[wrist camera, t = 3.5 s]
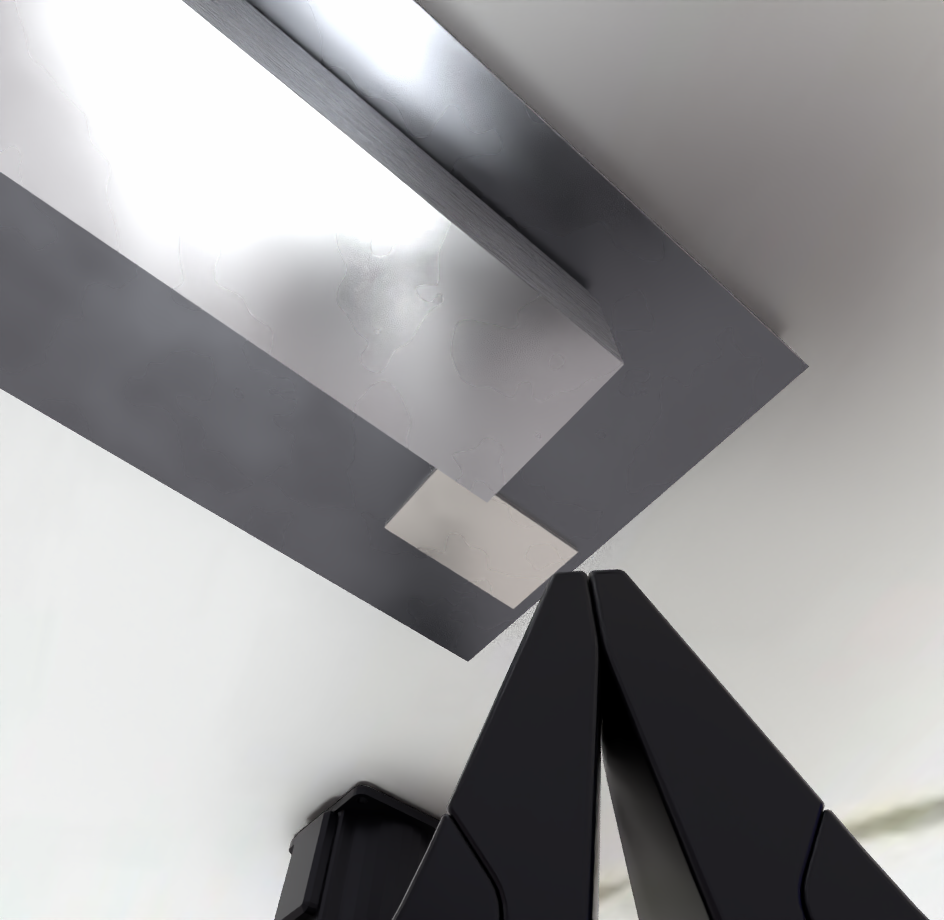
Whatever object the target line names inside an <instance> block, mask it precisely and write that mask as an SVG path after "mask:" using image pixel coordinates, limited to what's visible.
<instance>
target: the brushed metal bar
mask: <svg viewBox="0 0 944 920" xmlns="http://www.w3.org/2000/svg"><path fill="white" fill-rule="evenodd" d="M0 172H1V173H3V174H4V175H6V176H7V177H9V178H10V179H12V180H13V181H15V182H16V183H18V184H19V185H21V186H22V187H23V188H25V189H26V190H28V191H29V192H31V193H32V194H34V195H35V196H37V197H38V198H40V199H41V200H43V201H44V202H46V203H47V204H48V205H50V206H51V207H53V208H54V209H56V210H57V211H59V212H60V213H62V214H63V215H65V216H66V217H68V218H69V219H71V220H72V221H73V222H75V223H76V224H78V225H79V226H81V227H82V228H84V229H85V230H87V231H88V232H90V233H91V234H93V235H94V236H96V237H97V238H98V239H100V240H101V241H103V242H104V243H106V244H107V245H109V246H110V247H112V248H113V249H115V250H116V251H118V252H119V253H121V254H122V255H123V256H125V257H126V258H128V259H129V260H131V261H132V262H134V263H135V264H137V265H138V266H140V267H141V268H143V269H144V270H146V271H147V272H148V273H150V274H151V275H153V276H154V277H156V278H157V279H159V280H160V281H162V282H163V283H165V284H166V285H168V286H169V287H171V288H172V289H173V290H175V291H176V292H178V293H179V294H181V295H182V296H184V297H185V298H187V299H188V300H190V301H191V302H193V303H194V304H196V305H197V306H198V307H200V308H201V309H203V310H204V311H206V312H207V313H209V314H210V315H212V316H213V317H215V318H216V319H218V320H219V321H221V322H222V323H223V324H225V325H226V326H228V327H229V328H231V329H232V330H234V331H235V332H237V333H238V334H240V335H241V336H243V337H244V338H246V339H247V340H248V341H250V342H251V343H253V344H254V345H256V346H257V347H259V348H260V349H262V350H263V351H265V352H266V353H268V354H269V355H271V356H272V357H273V358H275V359H276V360H278V361H279V362H281V363H282V364H284V365H285V366H287V367H288V368H290V369H291V370H293V371H294V372H296V373H297V374H298V375H300V376H301V377H303V378H304V379H306V380H307V381H309V382H310V383H312V384H313V385H315V386H316V387H318V388H319V389H320V390H322V391H323V392H325V393H326V394H328V395H329V396H331V397H332V398H334V399H335V400H337V401H338V402H340V403H341V404H343V405H344V406H345V407H347V408H348V409H350V410H351V411H353V412H354V413H356V414H357V415H359V416H360V417H362V418H363V419H365V420H366V421H368V422H369V423H370V424H372V425H373V426H375V427H376V428H378V429H379V430H381V431H382V432H384V433H385V434H387V435H388V436H390V437H391V438H393V439H394V440H395V441H397V442H398V443H400V444H401V445H403V446H404V447H406V448H407V449H409V450H410V451H412V452H413V453H415V454H416V455H418V456H419V457H420V458H422V459H423V460H425V461H426V462H428V463H429V464H431V465H432V466H434V467H435V468H437V469H438V470H440V471H441V472H443V473H444V474H445V475H447V476H448V477H450V478H451V479H453V480H454V481H456V482H457V483H459V484H460V485H462V486H463V487H465V488H466V489H468V490H469V491H470V492H472V493H473V494H475V495H476V496H478V497H479V498H481V499H482V500H484V501H485V502H488V501H489V500H490V499H491V498H492V497H493V496H494V495H495V494H496V493H497V492H498V491H499V490H500V489H501V488H502V487H503V486H504V485H505V484H506V483H507V482H508V481H509V480H510V479H511V478H512V477H513V476H514V475H515V474H516V473H517V472H518V471H519V470H520V469H521V468H522V467H523V466H524V465H525V464H526V463H527V462H528V461H529V460H530V459H531V458H532V457H533V456H534V455H535V454H536V453H537V452H538V451H539V450H540V449H541V448H542V447H543V446H544V445H545V444H546V443H547V442H548V441H549V440H550V439H551V438H552V437H553V436H554V435H555V434H556V433H557V432H558V431H559V430H560V429H561V428H562V427H563V426H564V425H565V424H566V423H567V422H568V421H569V420H570V419H571V418H572V417H573V416H574V415H575V414H576V413H577V412H578V411H579V410H580V409H581V408H582V407H583V405H584V404H585V403H586V402H587V401H588V400H589V399H590V398H591V397H592V396H593V395H594V394H595V393H596V392H597V391H598V390H599V389H600V388H601V387H602V386H603V385H604V384H605V383H606V382H607V381H608V380H609V379H610V378H611V377H612V376H613V375H614V374H615V373H616V372H617V371H618V370H619V369H620V368H621V367H622V366H623V365H624V363H623V360H622V358H621V355H620V353H619V350H618V348H617V345H616V343H615V340H614V338H613V336H612V333H611V331H610V328H609V326H608V323H607V321H606V318H605V316H604V313H603V311H602V309H601V306H600V304H599V301H598V299H597V298H596V297H595V296H594V295H593V294H591V293H590V292H589V291H588V290H587V289H586V288H584V287H583V286H582V285H581V284H580V283H578V282H577V281H576V280H575V279H574V278H573V277H571V276H570V275H569V274H568V273H567V272H566V271H564V270H563V269H562V268H561V267H560V266H558V265H557V264H556V263H555V262H554V261H553V260H551V259H550V258H549V257H548V256H547V255H545V254H544V253H543V252H542V251H541V250H540V249H538V248H537V247H536V246H535V245H534V244H532V243H531V242H530V241H529V240H528V239H527V238H525V237H524V236H523V235H522V234H521V233H520V232H518V231H517V230H516V229H515V228H514V227H512V226H511V225H510V224H509V223H508V222H507V221H505V220H504V219H503V218H502V217H501V216H499V215H498V214H497V213H496V212H495V211H494V210H492V209H491V208H490V207H489V206H488V205H486V204H485V203H484V202H483V201H482V200H481V199H479V198H478V197H477V196H476V195H475V194H474V193H472V192H471V191H470V190H469V189H468V188H466V187H465V186H464V185H463V184H462V183H461V182H459V181H458V180H457V179H456V178H455V177H453V176H452V175H451V174H450V173H449V172H448V171H446V170H445V169H444V168H443V167H442V166H440V165H439V164H438V163H437V162H436V161H435V160H433V159H432V158H431V157H430V156H429V155H428V154H426V153H425V152H424V151H423V150H422V149H420V148H419V147H418V146H417V145H416V144H415V143H413V142H412V141H411V140H410V139H409V138H407V137H406V136H405V135H404V134H403V133H402V132H400V131H399V130H398V129H397V128H396V127H394V126H393V125H392V124H391V123H390V122H389V121H387V120H386V119H385V118H384V117H383V116H382V115H380V114H379V113H378V112H377V111H376V110H374V109H373V108H372V107H371V106H370V105H369V104H367V103H366V102H365V101H364V100H363V99H361V98H360V97H359V96H358V95H357V94H356V93H354V92H353V91H352V90H351V89H350V88H348V87H347V86H346V85H345V84H344V83H343V82H341V81H340V80H339V79H338V78H337V77H336V76H334V75H333V74H332V73H331V72H330V71H328V70H327V69H326V68H325V67H324V66H323V65H321V64H320V63H319V62H318V61H317V60H315V59H314V58H313V57H312V56H311V55H310V54H308V53H307V52H306V51H305V50H304V49H302V48H301V47H300V46H299V45H298V44H297V43H295V42H294V41H293V40H292V39H291V38H290V37H288V36H287V35H286V34H285V33H284V32H282V31H281V30H280V29H279V28H278V27H277V26H275V25H274V24H273V23H272V22H271V21H269V20H268V19H267V18H266V17H265V16H264V15H262V14H261V13H260V12H259V11H258V10H256V9H255V8H254V7H253V6H252V5H251V4H249V3H248V2H247V1H246V0H0Z"/></svg>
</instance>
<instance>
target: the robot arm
mask: <svg viewBox="0 0 944 920" xmlns="http://www.w3.org/2000/svg"><path fill="white" fill-rule="evenodd" d="M601 749H602V756H603V762H604V767H605V772H606V777H607V782H608V786H609V791H610V795H611V800H612V804H613V808H614V813H615V817H616V822H617V826H618V830H619V835H620V839H621V844H622V848H623V852H624V857H625V861H626V866H627V870H628V874H629V879H630V883H631V888H632V892H633V896H634V901H635V905H636V910H637V914H638V918H639V920H929V919H928V918H927V917H926V916H925V915H924V914H923V913H922V912H921V911H920V910H919V909H918V908H917V907H916V906H915V905H914V903H913V902H912V901H911V900H910V899H909V898H908V897H907V896H906V895H905V893H904V892H903V891H902V890H901V889H900V888H899V887H898V886H897V885H896V884H895V882H894V881H893V880H892V879H891V878H890V877H889V876H888V875H887V874H886V873H885V871H884V870H883V869H882V868H881V867H880V866H879V865H878V864H877V863H876V861H875V860H874V859H873V858H872V857H871V856H870V855H869V854H868V853H867V852H866V850H865V849H864V848H863V847H862V846H861V845H860V844H859V842H858V841H857V840H856V839H855V838H854V836H853V835H852V834H851V833H850V832H849V831H848V829H847V828H846V827H845V826H844V825H843V824H842V822H841V821H840V820H839V819H838V818H837V817H836V815H835V814H834V813H833V812H832V811H831V810H824V803H823V801H822V800H821V799H820V797H819V796H818V795H817V794H816V793H815V792H814V790H813V789H812V788H811V787H810V786H809V785H808V783H807V782H806V781H805V780H804V779H803V778H802V777H801V775H800V774H799V773H798V772H797V771H796V770H795V768H794V767H793V766H792V765H791V764H790V763H789V761H788V760H787V759H786V758H785V757H784V756H783V754H782V753H781V752H780V751H779V750H778V749H777V748H776V746H775V745H774V744H773V743H772V742H771V741H770V739H769V738H768V737H767V736H766V735H765V734H764V732H763V731H762V730H761V729H760V728H759V727H758V726H757V724H756V723H755V722H754V721H753V720H752V719H751V717H750V716H749V715H748V714H747V713H746V712H745V710H744V709H743V708H742V707H741V706H740V705H739V703H738V702H737V701H736V700H735V699H734V698H733V697H732V695H731V694H730V693H729V692H728V691H727V690H726V688H725V687H724V686H723V685H722V684H721V683H720V681H719V680H718V679H717V678H716V677H715V676H714V674H713V673H712V672H711V671H710V670H709V669H708V668H707V666H706V665H705V664H704V663H703V662H702V661H701V659H700V658H699V657H698V656H697V655H696V654H695V652H694V651H693V650H692V649H691V648H690V647H689V646H688V644H687V643H686V642H685V641H684V640H683V639H682V637H681V636H680V635H679V634H678V633H677V632H676V630H675V629H674V628H673V627H672V626H671V625H670V623H669V622H668V621H667V620H666V619H665V618H664V617H663V615H662V614H661V613H660V612H659V611H658V610H657V608H656V607H655V606H654V605H653V604H652V603H651V601H650V600H649V599H648V598H647V597H646V596H645V595H644V593H643V592H642V591H641V590H640V589H639V588H638V586H637V585H636V584H635V583H634V582H633V581H632V579H631V578H630V577H629V576H628V575H627V574H626V573H625V572H624V571H622V570H618V569H617V570H595V571H592V572H590V573H589V575H588V577H587V575H586V573H585V572H583V571H574V572H556V573H554V574H552V576H551V577H550V579H549V581H548V583H547V586H546V588H545V590H544V592H543V594H542V597H541V599H540V601H539V603H538V606H537V608H536V610H535V612H534V614H533V617H532V619H531V621H530V623H529V626H528V628H527V630H526V632H525V634H524V637H523V639H522V641H521V643H520V646H519V648H518V650H517V652H516V654H515V657H514V659H513V661H512V663H511V666H510V668H509V670H508V672H507V674H506V677H505V679H504V681H503V683H502V686H501V688H500V690H499V692H498V694H497V697H496V699H495V701H494V703H493V705H492V708H491V710H490V712H489V714H488V717H487V719H486V721H485V723H484V725H483V728H482V730H481V732H480V734H479V737H478V739H477V741H476V743H475V745H474V748H473V750H472V752H471V754H470V757H469V759H468V761H467V763H466V765H465V768H464V770H463V772H462V774H461V777H460V779H459V781H458V783H457V785H456V788H455V790H454V792H453V794H452V797H451V799H450V801H449V803H448V805H447V809H446V810H447V814H445V815H443V816H442V818H441V820H440V821H438V820H436V819H434V818H432V817H430V816H428V815H426V814H424V813H422V812H420V811H418V810H416V809H414V808H412V807H410V806H408V805H406V804H404V803H401V802H399V801H397V800H395V799H393V798H391V797H389V796H387V795H385V794H383V793H381V792H379V791H377V790H375V789H373V788H371V787H368V786H363V785H361V786H357V787H355V788H354V789H352V790H351V791H350V792H349V793H348V794H346V795H345V796H344V797H343V798H342V799H340V800H339V801H338V802H337V803H336V804H334V805H333V806H332V807H331V808H330V809H328V810H327V811H325V812H323V813H322V814H321V815H320V816H318V817H317V818H316V819H315V820H314V821H312V822H311V823H310V824H309V825H308V826H307V827H305V828H304V829H303V830H302V831H301V832H299V833H298V834H297V836H296V837H295V838H294V839H292V841H291V844H290V848H289V852H290V853H291V854H292V855H291V859H290V863H289V867H288V870H287V874H286V878H285V882H284V885H283V889H282V893H281V897H280V900H279V904H278V908H277V911H276V915H275V919H274V920H598V909H599V853H600V798H601ZM823 810H824V811H823Z"/></svg>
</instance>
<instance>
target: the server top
mask: <svg viewBox="0 0 944 920" xmlns="http://www.w3.org/2000/svg"><path fill="white" fill-rule="evenodd" d="M246 1H247V2H248V3H249V4H251V5H252V6H253V7H254V8H255V9H256V10H258V11H259V12H260V13H261V14H262V15H264V16H265V17H266V18H267V19H268V20H269V21H271V22H272V23H273V24H274V25H275V26H277V27H278V28H279V29H280V30H281V31H282V32H284V33H285V34H286V35H287V36H288V37H290V38H291V39H292V40H293V41H294V42H295V43H297V44H298V45H299V46H300V47H301V48H302V49H304V50H305V51H306V52H307V53H308V54H310V55H311V56H312V57H313V58H314V59H315V60H317V61H318V62H319V63H320V64H321V65H323V66H324V67H325V68H326V69H327V70H328V71H330V72H331V73H332V74H333V75H334V76H336V77H337V78H338V79H339V80H340V81H341V82H343V83H344V84H345V85H346V86H347V87H348V88H350V89H351V90H352V91H353V92H354V93H356V94H357V95H358V96H359V97H360V98H361V99H363V100H364V101H365V102H366V103H367V104H369V105H370V106H371V107H372V108H373V109H374V110H376V111H377V112H378V113H379V114H380V115H382V116H383V117H384V118H385V119H386V120H387V121H389V122H390V123H391V124H392V125H393V126H394V127H396V128H397V129H398V130H399V131H400V132H402V133H403V134H404V135H405V136H406V137H407V138H409V139H410V140H411V141H412V142H413V143H415V144H416V145H417V146H418V147H419V148H420V149H422V150H423V151H424V152H425V153H426V154H428V155H429V156H430V157H431V158H432V159H433V160H435V161H436V162H437V163H438V164H439V165H440V166H442V167H443V168H444V169H445V170H446V171H448V172H449V173H450V174H451V175H452V176H453V177H455V178H456V179H457V180H458V181H459V182H461V183H462V184H463V185H464V186H465V187H466V188H468V189H469V190H470V191H471V192H472V193H474V194H475V195H476V196H477V197H478V198H479V199H481V200H482V201H483V202H484V203H485V204H486V205H488V206H489V207H490V208H491V209H492V210H494V211H495V212H496V213H497V214H498V215H499V216H501V217H502V218H503V219H504V220H505V221H507V222H508V223H509V224H510V225H511V226H512V227H514V228H515V229H516V230H517V231H518V232H520V233H521V234H522V235H523V236H524V237H525V238H527V239H528V240H529V241H530V242H531V243H532V244H534V245H535V246H536V247H537V248H538V249H540V250H541V251H542V252H543V253H544V254H545V255H547V256H548V257H549V258H550V259H551V260H553V261H554V262H555V263H556V264H557V265H558V266H560V267H561V268H562V269H563V270H564V271H566V272H567V273H568V274H569V275H570V276H571V277H573V278H574V279H575V280H576V281H577V282H578V283H580V284H581V285H582V286H583V287H584V288H586V289H587V290H588V291H589V292H590V293H591V294H593V295H594V296H595V297H596V298H597V299H598V301H599V304H600V306H601V309H602V311H603V313H604V316H605V318H606V321H607V323H608V326H609V328H610V331H611V333H612V336H613V338H614V340H615V343H616V345H617V348H618V350H619V353H620V355H621V358H622V360H623V363H624V365H623V366H622V367H621V368H620V369H619V370H618V371H617V372H616V373H615V374H614V375H613V376H612V377H611V378H610V379H609V380H608V381H607V382H606V383H605V384H604V385H603V386H602V387H601V388H600V389H599V390H598V391H597V392H596V393H595V394H594V395H593V396H592V397H591V398H590V399H589V400H588V401H587V402H586V403H585V404H584V405H583V407H582V408H581V409H580V410H579V411H578V412H577V413H576V414H575V415H574V416H573V417H572V418H571V419H570V420H569V421H568V422H567V423H566V424H565V425H564V426H563V427H562V428H561V429H560V430H559V431H558V432H557V433H556V434H555V435H554V436H553V437H552V438H551V439H550V440H549V441H548V442H547V443H546V444H545V445H544V446H543V447H542V448H541V449H540V450H539V451H538V452H537V453H536V454H535V455H534V456H533V457H532V458H531V459H530V460H529V461H528V462H527V463H526V464H525V465H524V466H523V467H522V468H521V469H520V470H519V471H518V472H517V473H516V474H515V475H514V476H513V477H512V478H511V479H510V480H509V481H508V482H507V483H506V484H505V485H504V486H503V487H502V488H501V489H500V490H499V491H498V492H497V493H496V494H495V495H494V496H493V497H492V498H491V499H490V500H489V501H488V502H485V501H484V500H482V499H481V498H479V497H478V496H476V495H475V494H473V493H472V492H470V491H469V490H468V489H466V488H465V487H463V486H462V485H460V484H459V483H457V482H456V481H454V480H453V479H451V478H450V477H448V476H447V475H445V474H444V473H443V472H441V471H440V470H438V469H437V468H435V467H434V466H432V465H431V464H429V463H428V462H426V461H425V460H423V459H422V458H420V457H419V456H418V455H416V454H415V453H413V452H412V451H410V450H409V449H407V448H406V447H404V446H403V445H401V444H400V443H398V442H397V441H395V440H394V439H393V438H391V437H390V436H388V435H387V434H385V433H384V432H382V431H381V430H379V429H378V428H376V427H375V426H373V425H372V424H370V423H369V422H368V421H366V420H365V419H363V418H362V417H360V416H359V415H357V414H356V413H354V412H353V411H351V410H350V409H348V408H347V407H345V406H344V405H343V404H341V403H340V402H338V401H337V400H335V399H334V398H332V397H331V396H329V395H328V394H326V393H325V392H323V391H322V390H320V389H319V388H318V387H316V386H315V385H313V384H312V383H310V382H309V381H307V380H306V379H304V378H303V377H301V376H300V375H298V374H297V373H296V372H294V371H293V370H291V369H290V368H288V367H287V366H285V365H284V364H282V363H281V362H279V361H278V360H276V359H275V358H273V357H272V356H271V355H269V354H268V353H266V352H265V351H263V350H262V349H260V348H259V347H257V346H256V345H254V344H253V343H251V342H250V341H248V340H247V339H246V338H244V337H243V336H241V335H240V334H238V333H237V332H235V331H234V330H232V329H231V328H229V327H228V326H226V325H225V324H223V323H222V322H221V321H219V320H218V319H216V318H215V317H213V316H212V315H210V314H209V313H207V312H206V311H204V310H203V309H201V308H200V307H198V306H197V305H196V304H194V303H193V302H191V301H190V300H188V299H187V298H185V297H184V296H182V295H181V294H179V293H178V292H176V291H175V290H173V289H172V288H171V287H169V286H168V285H166V284H165V283H163V282H162V281H160V280H159V279H157V278H156V277H154V276H153V275H151V274H150V273H148V272H147V271H146V270H144V269H143V268H141V267H140V266H138V265H137V264H135V263H134V262H132V261H131V260H129V259H128V258H126V257H125V256H123V255H122V254H121V253H119V252H118V251H116V250H115V249H113V248H112V247H110V246H109V245H107V244H106V243H104V242H103V241H101V240H100V239H98V238H97V237H96V236H94V235H93V234H91V233H90V232H88V231H87V230H85V229H84V228H82V227H81V226H79V225H78V224H76V223H75V222H73V221H72V220H71V219H69V218H68V217H66V216H65V215H63V214H62V213H60V212H59V211H57V210H56V209H54V208H53V207H51V206H50V205H48V204H47V203H46V202H44V201H43V200H41V199H40V198H38V197H37V196H35V195H34V194H32V193H31V192H29V191H28V190H26V189H25V188H23V187H22V186H21V185H19V184H18V183H16V182H15V181H13V180H12V179H10V178H9V177H7V176H6V175H4V174H3V173H1V172H0V388H1V389H2V390H4V391H6V392H7V393H9V394H11V395H13V396H14V397H16V398H18V399H19V400H21V401H23V402H25V403H26V404H28V405H30V406H31V407H33V408H35V409H37V410H38V411H40V412H42V413H43V414H45V415H47V416H49V417H50V418H52V419H54V420H55V421H57V422H59V423H61V424H62V425H64V426H66V427H67V428H69V429H71V430H73V431H74V432H76V433H78V434H79V435H81V436H83V437H84V438H86V439H88V440H90V441H91V442H93V443H95V444H96V445H98V446H100V447H102V448H103V449H105V450H107V451H108V452H110V453H112V454H114V455H115V456H117V457H119V458H120V459H122V460H124V461H126V462H127V463H129V464H131V465H132V466H134V467H136V468H138V469H139V470H141V471H143V472H144V473H146V474H148V475H150V476H151V477H153V478H155V479H156V480H158V481H160V482H161V483H163V484H165V485H167V486H168V487H170V488H172V489H173V490H175V491H177V492H179V493H180V494H182V495H184V496H185V497H187V498H189V499H191V500H192V501H194V502H196V503H197V504H199V505H201V506H203V507H204V508H206V509H208V510H209V511H211V512H213V513H215V514H216V515H218V516H220V517H221V518H223V519H225V520H227V521H228V522H230V523H232V524H233V525H235V526H237V527H238V528H240V529H242V530H244V531H245V532H247V533H249V534H250V535H252V536H254V537H256V538H257V539H259V540H261V541H262V542H264V543H266V544H268V545H269V546H271V547H273V548H274V549H276V550H278V551H280V552H281V553H283V554H285V555H286V556H288V557H290V558H292V559H293V560H295V561H297V562H298V563H300V564H302V565H304V566H305V567H307V568H309V569H310V570H312V571H314V572H315V573H317V574H319V575H321V576H322V577H324V578H326V579H327V580H329V581H331V582H333V583H334V584H336V585H338V586H339V587H341V588H343V589H345V590H346V591H348V592H350V593H351V594H353V595H355V596H357V597H358V598H360V599H362V600H363V601H365V602H367V603H369V604H370V605H372V606H374V607H375V608H377V609H379V610H381V611H382V612H384V613H386V614H387V615H389V616H391V617H392V618H394V619H396V620H398V621H399V622H401V623H403V624H404V625H406V626H408V627H410V628H411V629H413V630H415V631H416V632H418V633H420V634H422V635H423V636H425V637H427V638H428V639H430V640H432V641H434V642H435V643H437V644H439V645H440V646H442V647H444V648H446V649H447V650H449V651H451V652H452V653H454V654H456V655H458V656H459V657H461V658H463V659H464V660H466V661H469V660H470V659H472V658H473V657H474V656H475V655H476V654H477V653H479V652H480V651H481V650H482V649H483V648H484V647H485V646H487V645H488V644H489V643H490V642H491V641H492V640H494V639H495V638H496V637H497V636H498V635H499V634H500V633H502V632H503V631H504V630H505V629H506V628H507V627H509V626H510V625H511V624H512V623H513V622H514V621H516V620H517V619H518V618H519V617H520V616H521V615H522V614H524V613H525V612H526V611H527V610H528V609H529V608H531V607H532V606H533V605H534V604H535V603H536V602H537V601H539V600H540V599H541V597H542V594H543V592H544V590H545V588H546V586H547V583H548V581H549V579H550V577H551V576H552V574H554V573H556V572H572V571H573V570H574V569H576V568H577V567H578V566H579V565H580V564H581V563H582V562H584V561H585V560H586V559H587V558H588V557H589V556H591V555H592V554H593V553H594V552H595V551H596V550H598V549H599V548H600V547H601V546H602V545H603V544H604V543H606V542H607V541H608V540H609V539H610V538H611V537H613V536H614V535H615V534H616V533H617V532H618V531H619V530H621V529H622V528H623V527H624V526H625V525H626V524H628V523H629V522H630V521H631V520H632V519H633V518H634V517H636V516H637V515H638V514H639V513H640V512H641V511H643V510H644V509H645V508H646V507H647V506H648V505H649V504H651V503H652V502H653V501H654V500H655V499H656V498H658V497H659V496H660V495H661V494H662V493H663V492H665V491H666V490H667V489H668V488H669V487H670V486H671V485H673V484H674V483H675V482H676V481H677V480H678V479H680V478H681V477H682V476H683V475H684V474H685V473H686V472H688V471H689V470H690V469H691V468H692V467H693V466H695V465H696V464H697V463H698V462H699V461H700V460H701V459H703V458H704V457H705V456H706V455H707V454H708V453H710V452H711V451H712V450H713V449H714V448H715V447H716V446H718V445H719V444H720V443H721V442H722V441H723V440H725V439H726V438H727V437H728V436H729V435H730V434H732V433H733V432H734V431H735V430H736V429H737V428H738V427H740V426H741V425H742V424H743V423H744V422H745V421H747V420H748V419H749V418H750V417H751V416H752V415H753V414H755V413H756V412H757V411H758V410H759V409H760V408H762V407H763V406H764V405H765V404H766V403H767V402H768V401H770V400H771V399H772V398H773V397H774V396H775V395H777V394H778V393H779V392H780V391H781V390H782V389H783V388H785V387H786V386H787V385H788V384H789V383H790V382H792V381H793V380H794V379H795V378H796V377H797V376H799V375H800V374H801V373H802V372H803V371H804V370H805V369H807V368H808V367H809V366H808V365H807V364H806V363H805V362H804V361H803V360H802V359H801V358H800V357H799V356H798V355H797V354H796V353H794V352H793V351H792V350H791V349H790V348H789V347H788V346H787V345H786V344H785V343H784V342H783V341H782V340H781V339H780V338H779V337H778V336H777V335H776V334H775V333H774V332H773V331H772V330H770V329H769V328H768V327H767V326H766V325H765V324H764V323H763V322H762V321H761V320H760V319H759V318H758V317H756V316H755V315H754V314H753V313H752V312H751V311H750V310H749V309H748V308H747V307H746V306H745V305H743V304H742V303H741V302H740V301H739V300H738V299H737V298H736V297H735V296H734V295H733V294H732V293H731V292H729V291H728V290H727V289H726V288H725V287H724V286H723V285H722V284H721V283H720V282H719V281H718V280H716V279H715V278H714V277H713V276H712V275H711V274H710V273H709V272H708V271H707V270H706V269H705V268H703V267H702V266H701V265H700V264H699V263H698V262H697V261H696V260H695V259H694V258H693V257H692V256H691V255H689V254H688V253H687V252H686V251H685V250H684V249H683V248H682V247H681V246H680V245H679V244H678V243H676V242H675V241H674V240H673V239H672V238H671V237H670V236H669V235H668V234H667V233H666V232H665V231H664V230H662V229H661V228H660V227H659V226H658V225H657V224H656V223H655V222H654V221H653V220H652V219H651V218H649V217H648V216H647V215H646V214H645V213H644V212H643V211H642V210H641V209H640V208H639V207H638V206H636V205H635V204H634V203H633V202H632V201H631V200H630V199H629V198H628V197H627V196H626V195H625V194H624V193H622V192H621V191H620V190H619V189H618V188H617V187H616V186H615V185H614V184H613V183H612V182H611V181H609V180H608V179H607V178H606V177H605V176H604V175H603V174H602V173H601V172H600V171H599V170H598V169H597V168H595V167H594V166H593V165H592V164H591V163H590V162H589V161H588V160H587V159H586V158H585V157H584V156H582V155H581V154H580V153H579V152H578V151H577V150H576V149H575V148H574V147H573V146H572V145H571V144H569V143H568V142H567V141H566V140H565V139H564V138H563V137H562V136H561V135H560V134H559V133H558V132H557V131H555V130H554V129H553V128H552V127H551V126H550V125H549V124H548V123H547V122H546V121H545V120H544V119H542V118H541V117H540V116H539V115H538V114H537V113H536V112H535V111H534V110H533V109H532V108H531V107H530V106H528V105H527V104H526V103H525V102H524V101H523V100H522V99H521V98H520V97H519V96H518V95H517V94H515V93H514V92H513V91H512V90H511V89H510V88H509V87H508V86H507V85H506V84H505V83H504V82H502V81H501V80H500V79H499V78H498V77H497V76H496V75H495V74H494V73H493V72H492V71H491V70H490V69H488V68H487V67H486V66H485V65H484V64H483V63H482V62H481V61H480V60H479V59H478V58H477V57H475V56H474V55H473V54H472V53H471V52H470V51H469V50H468V49H467V48H466V47H465V46H464V45H463V44H461V43H460V42H459V41H458V40H457V39H456V38H455V37H454V36H453V35H452V34H451V33H450V32H448V31H447V30H446V29H445V28H444V27H443V26H442V25H441V24H440V23H439V22H438V21H437V20H435V19H434V18H433V17H432V16H431V15H430V14H429V13H428V12H427V11H426V10H425V9H424V8H423V7H421V6H420V5H419V4H418V3H417V2H416V1H415V0H246Z"/></svg>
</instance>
